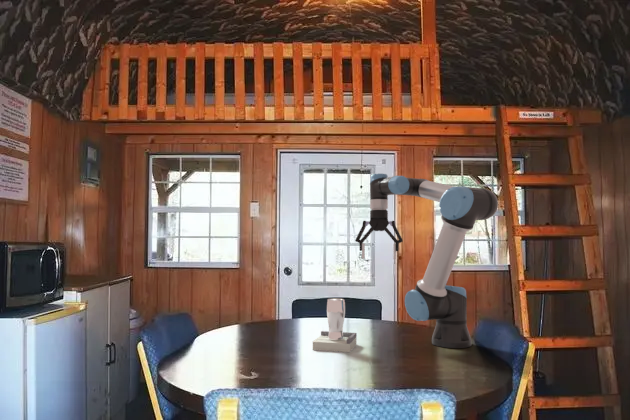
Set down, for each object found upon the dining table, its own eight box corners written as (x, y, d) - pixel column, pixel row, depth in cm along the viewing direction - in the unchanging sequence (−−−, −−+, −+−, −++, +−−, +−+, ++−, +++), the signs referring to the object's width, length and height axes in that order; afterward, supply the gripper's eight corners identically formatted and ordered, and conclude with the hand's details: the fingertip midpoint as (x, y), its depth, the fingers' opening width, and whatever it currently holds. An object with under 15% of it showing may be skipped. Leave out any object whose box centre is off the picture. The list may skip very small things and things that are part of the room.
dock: (356, 344, 202) (356, 332, 202) (349, 352, 189) (349, 339, 189) (321, 342, 206) (321, 331, 206) (312, 349, 192) (312, 337, 192)
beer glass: (324, 339, 195) (324, 299, 196) (330, 336, 202) (330, 297, 203) (341, 341, 193) (341, 300, 194) (347, 338, 199) (347, 298, 200)
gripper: (408, 209, 224) (408, 258, 223) (352, 210, 231) (351, 257, 229) (407, 208, 217) (407, 259, 216) (348, 209, 223) (348, 258, 222)
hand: (378, 258), depth 223 cm, fingers open, 13 cm apart
